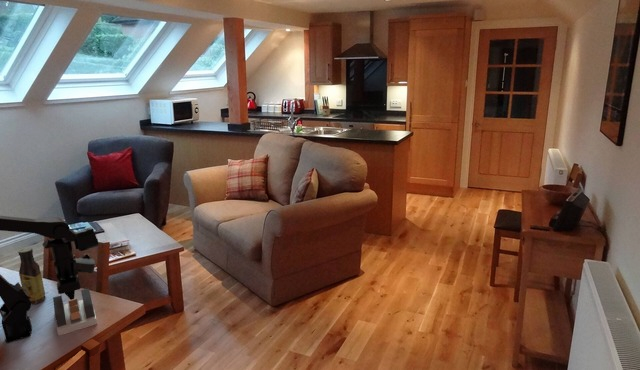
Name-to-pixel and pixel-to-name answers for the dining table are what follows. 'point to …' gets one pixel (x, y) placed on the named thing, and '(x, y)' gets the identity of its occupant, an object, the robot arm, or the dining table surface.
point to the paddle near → (75, 315)
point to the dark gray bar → (88, 303)
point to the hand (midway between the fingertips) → (72, 298)
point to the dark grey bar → (59, 311)
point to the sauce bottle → (31, 276)
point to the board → (76, 320)
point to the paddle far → (73, 302)
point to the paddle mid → (74, 308)
